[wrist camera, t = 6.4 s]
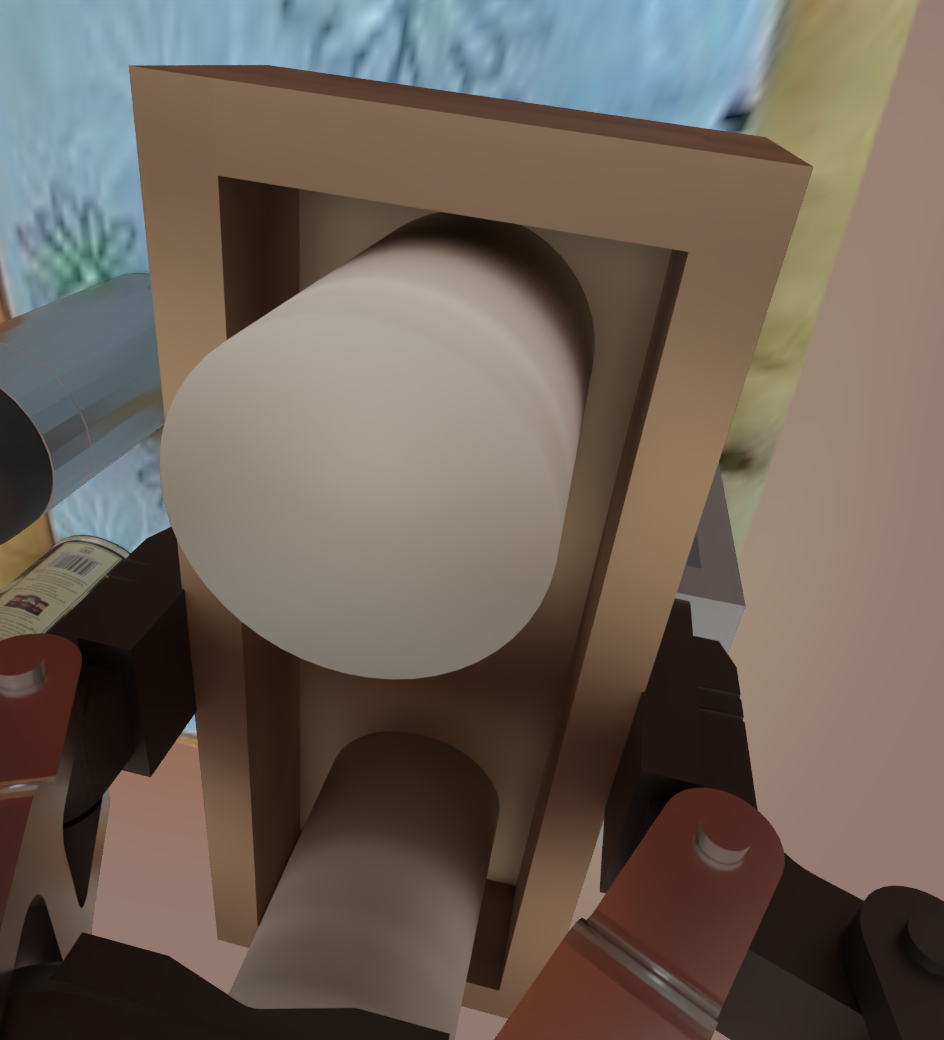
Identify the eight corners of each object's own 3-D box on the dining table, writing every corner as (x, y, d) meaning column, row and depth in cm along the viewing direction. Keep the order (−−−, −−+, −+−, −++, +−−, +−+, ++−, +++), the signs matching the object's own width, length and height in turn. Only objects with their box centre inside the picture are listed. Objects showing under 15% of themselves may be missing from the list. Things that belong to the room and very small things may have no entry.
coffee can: (84, 639, 69) (-34, 760, 57) (25, 541, 64) (-116, 650, 52) (181, 630, 66) (79, 755, 54) (128, 527, 61) (3, 639, 49)
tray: (268, 65, 9) (-87, 66, 5) (766, 137, 9) (891, 214, 4) (282, 807, 17) (146, 1085, 12) (555, 875, 16) (517, 1195, 12)
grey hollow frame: (419, 343, 49) (280, 514, 30) (705, 392, 47) (745, 606, 28) (404, 540, 57) (288, 772, 38) (650, 588, 55) (652, 857, 36)
